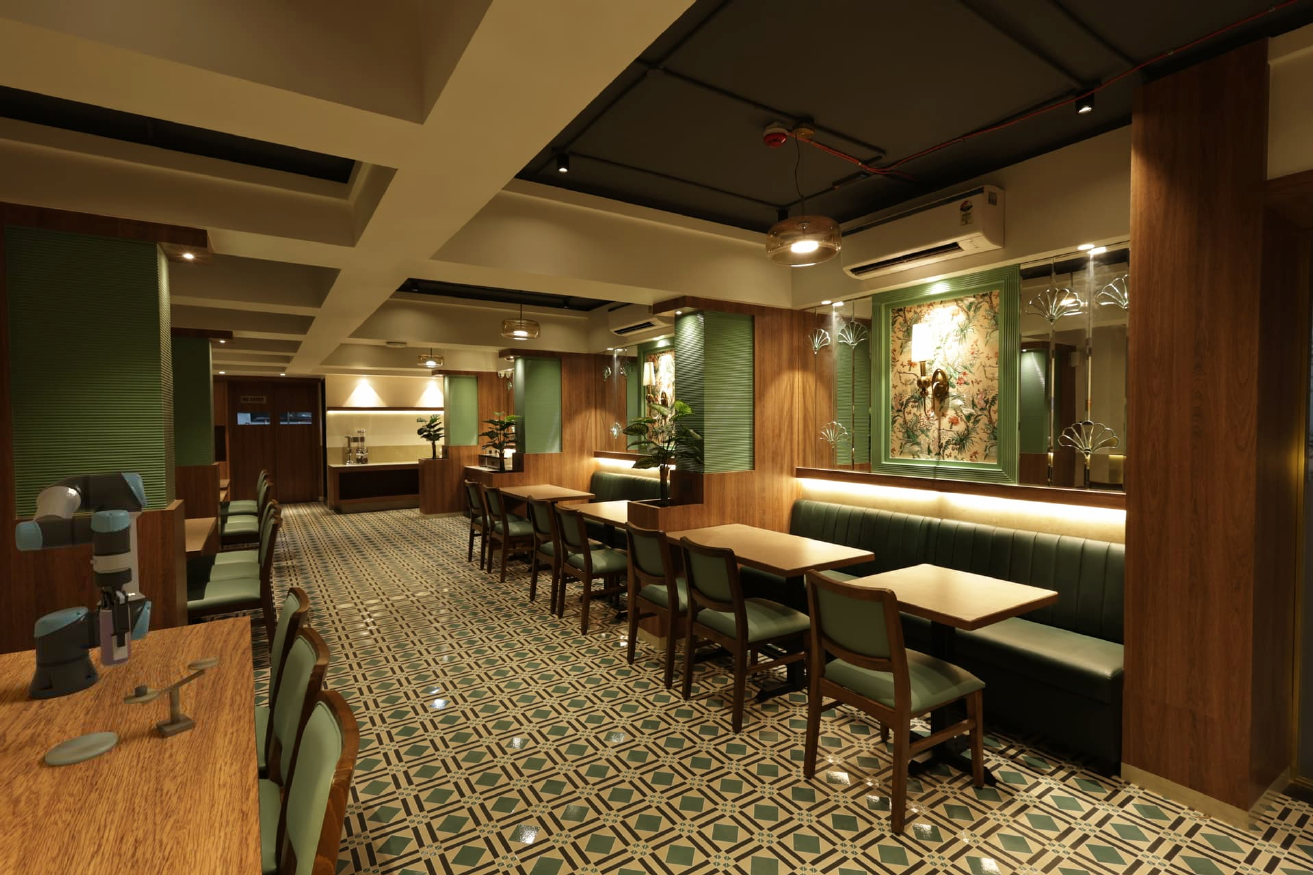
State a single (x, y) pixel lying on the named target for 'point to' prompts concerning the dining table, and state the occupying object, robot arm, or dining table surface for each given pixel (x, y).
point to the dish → (81, 748)
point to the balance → (171, 699)
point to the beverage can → (111, 639)
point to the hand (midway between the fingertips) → (116, 655)
